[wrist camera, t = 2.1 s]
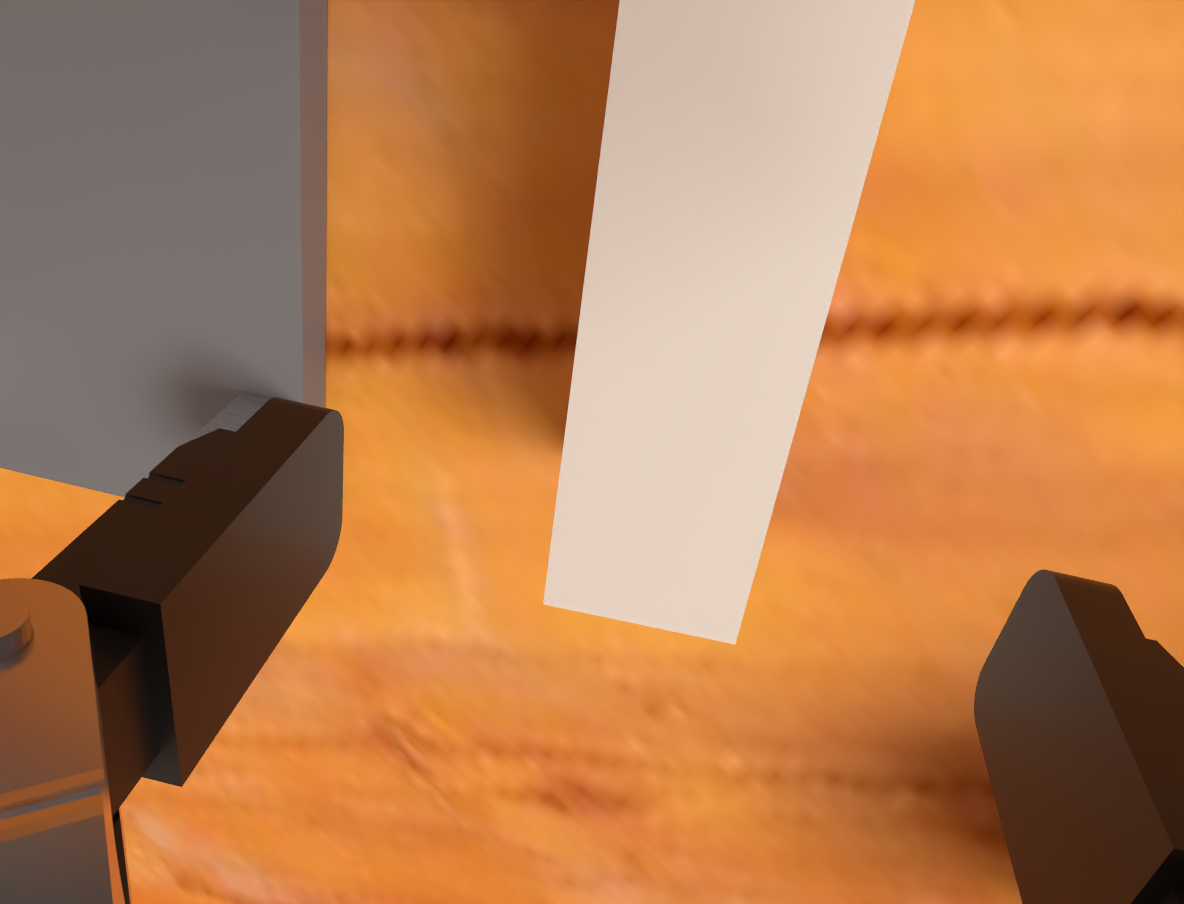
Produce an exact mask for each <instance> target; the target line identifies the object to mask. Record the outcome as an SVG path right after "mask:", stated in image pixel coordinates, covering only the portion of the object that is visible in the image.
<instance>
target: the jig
mask: <svg viewBox="0 0 1184 904" xmlns="http://www.w3.org/2000/svg"><path fill="white" fill-rule="evenodd" d="M327 10H328V0H0V468H4V469H8V470H12V471H16V472H21V473H25V474H29V475H33V476H37V477H42V478H46V479H50V480H54V481H59V482H63V483H67V484H71V485H75V486H80V487H84V488H88V489H92V490H96V491H101V492H105V493H109V494H113V495H118V496H122V497H125V494H126V493H127V492H128V491H129V490H130V489H131V488H133V487H134V486H135V485H136V484H137V483H138V482H139V481H140V480H141V479H142V478H148V477H149V472H150V471H151V470H152V469H154V468H155V467H156V466H157V465H158V464H159V463H160V462H161V461H162V460H164V459H165V458H166V457H167V456H168V455H169V454H170V453H171V452H172V451H174V450H175V449H176V448H177V447H178V446H180V445H183V444H185V443H187V442H189V441H192V440H194V439H196V438H198V437H201V436H203V435H205V434H208V433H210V432H212V431H214V430H217V429H219V428H222V429H226V430H231V431H235V432H236V431H237V430H238V429H239V428H240V427H241V426H242V425H243V424H244V423H245V422H246V421H247V420H249V419H250V418H251V417H252V416H253V415H254V414H255V413H256V412H257V411H258V410H259V409H260V408H261V407H262V406H263V405H264V404H265V403H266V402H267V401H268V400H270V399H271V398H274V397H278V398H283V399H287V400H292V401H296V402H301V403H305V404H310V405H314V406H319V407H323V408H325V367H326V188H327Z"/></svg>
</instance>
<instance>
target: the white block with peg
mask: <svg viewBox="0 0 1184 904" xmlns="http://www.w3.org/2000/svg"><path fill="white" fill-rule="evenodd" d="M914 3H915V0H620V2H619V10H618V18H617V25H616V33H615V41H614V49H613V57H612V65H611V73H610V81H609V89H608V97H607V104H606V112H605V120H604V128H603V136H602V144H601V152H600V160H599V168H598V176H597V183H596V191H595V199H594V207H593V215H592V223H591V231H590V239H589V247H588V255H587V263H586V270H585V278H584V286H583V294H582V302H581V310H580V318H579V326H578V334H577V342H576V349H575V357H574V365H573V373H572V381H571V389H570V397H569V405H568V413H567V421H566V428H565V436H564V444H563V452H562V460H561V468H560V476H559V484H558V492H557V500H556V507H555V515H554V523H553V531H552V539H551V547H550V555H549V563H548V571H547V579H546V586H545V594H544V602H543V604H545V605H549V606H554V607H559V608H564V609H568V610H573V611H578V612H583V613H588V614H592V615H597V616H602V617H607V618H612V619H616V620H621V621H626V622H631V623H635V624H640V625H645V626H650V627H655V628H659V629H664V630H669V631H674V632H678V633H683V634H688V635H693V636H698V637H702V638H707V639H712V640H717V641H721V642H726V643H731V644H735V643H736V640H737V636H738V633H739V629H740V626H741V622H742V618H743V615H744V611H745V608H746V604H747V601H748V597H749V593H750V590H751V586H752V583H753V579H754V575H755V572H756V568H757V565H758V561H759V558H760V554H761V550H762V547H763V543H764V540H765V536H766V533H767V529H768V525H769V522H770V518H771V515H772V511H773V507H774V504H775V500H776V497H777V493H778V490H779V486H780V482H781V479H782V475H783V472H784V468H785V465H786V461H787V457H788V454H789V450H790V447H791V443H792V439H793V436H794V432H795V429H796V425H797V422H798V418H799V414H800V411H801V407H802V404H803V400H804V397H805V393H806V389H807V386H808V382H809V379H810V375H811V371H812V368H813V364H814V361H815V357H816V354H817V350H818V346H819V343H820V339H821V336H822V332H823V328H824V325H825V321H826V318H827V314H828V311H829V307H830V303H831V300H832V296H833V293H834V289H835V286H836V282H837V278H838V275H839V271H840V268H841V264H842V260H843V257H844V253H845V250H846V246H847V243H848V239H849V235H850V232H851V228H852V225H853V221H854V218H855V214H856V210H857V207H858V203H859V200H860V196H861V192H862V189H863V185H864V182H865V178H866V175H867V171H868V167H869V164H870V160H871V157H872V153H873V150H874V146H875V142H876V139H877V135H878V132H879V128H880V124H881V121H882V117H883V114H884V110H885V107H886V103H887V99H888V96H889V92H890V89H891V85H892V82H893V78H894V74H895V71H896V67H897V64H898V60H899V56H900V53H901V49H902V46H903V42H904V39H905V35H906V31H907V28H908V24H909V21H910V17H911V13H912V10H913V6H914Z"/></svg>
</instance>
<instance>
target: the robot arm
mask: <svg viewBox="0 0 1184 904" xmlns="http://www.w3.org/2000/svg"><path fill="white" fill-rule="evenodd" d="M343 444H344V426H343V420H342V416H341V414H340V413H339V412H338V411H336V410H332V409H328V408H323V407H319V406H314V405H310V404H305V403H301V402H296V401H292V400H287V399H283V398H278V397H274V398H271V399H270V400H268V401H267V402H266V403H265V404H264V405H263V406H262V407H261V408H260V409H259V410H258V411H257V412H256V413H255V414H254V415H253V416H252V417H251V418H250V419H249V420H247V421H246V422H245V423H244V424H243V425H242V426H241V427H240V428H239V429H238V430H237V431H236V432H235V431H231V430H226V429H222V428H219V429H217V430H214V431H212V432H210V433H208V434H205V435H203V436H201V437H198V438H196V439H194V440H192V441H189V442H187V443H185V444H183V445H180V446H178V447H177V448H176V449H175V450H174V451H172V452H171V453H170V454H169V455H168V456H167V457H166V458H165V459H164V460H162V461H161V462H160V463H159V464H158V465H157V466H156V467H155V468H154V469H152V470H151V471H150V472H149V477H148V478H142V479H141V480H140V481H139V482H138V483H137V484H136V485H135V486H134V487H133V488H131V489H130V490H129V491H128V492H127V493H126V494H125V499H124V500H118V501H117V502H116V503H115V504H114V505H113V506H111V507H110V508H109V509H108V510H107V511H106V512H105V513H104V514H103V515H101V516H100V517H99V518H98V519H97V520H96V521H95V522H94V523H93V524H91V525H90V526H89V527H88V528H87V529H86V530H85V531H84V532H83V533H82V534H80V535H79V536H78V537H77V538H76V539H75V540H74V541H73V542H72V543H70V544H69V545H68V546H67V547H66V548H65V549H64V550H63V551H62V552H60V553H59V554H58V555H57V556H56V557H55V558H54V559H53V560H52V561H50V562H49V563H48V564H47V565H46V566H45V567H44V568H43V569H42V570H41V571H39V572H38V573H37V574H36V575H35V576H34V577H33V578H32V579H27V578H13V579H1V580H0V904H132V897H131V889H130V881H129V873H128V864H127V856H126V848H125V839H124V831H123V823H122V816H121V810H120V806H121V805H122V803H123V802H124V800H125V799H126V798H127V796H128V795H129V793H130V792H131V791H132V789H133V788H134V787H135V785H136V784H137V782H138V781H139V780H140V778H141V777H144V778H148V779H152V780H156V781H160V782H164V783H168V784H172V785H176V786H180V787H182V786H183V784H184V783H185V781H186V780H187V778H188V777H189V775H190V774H191V772H192V771H193V769H194V768H195V766H196V765H197V763H198V762H199V760H200V759H201V757H202V756H203V754H204V753H205V751H206V750H207V748H208V747H209V746H210V744H211V743H212V741H213V740H214V738H215V737H216V735H217V734H218V732H219V731H220V729H221V728H222V726H223V725H224V723H225V722H226V720H227V719H228V717H229V716H230V714H231V713H232V711H233V710H234V708H235V707H236V705H237V704H238V702H239V701H240V699H241V698H242V696H243V695H244V693H245V692H246V690H247V689H248V687H249V686H250V684H251V683H252V681H253V680H254V678H255V677H256V675H257V674H258V672H259V671H260V669H261V668H262V666H263V665H264V663H265V662H266V660H267V659H268V657H269V656H270V655H271V653H272V652H273V650H274V649H275V647H276V646H277V644H278V643H279V641H280V640H281V638H282V637H283V635H284V634H285V632H286V631H287V629H288V628H289V626H290V625H291V623H292V622H293V620H294V619H295V617H296V616H297V614H298V613H299V611H300V610H301V608H302V607H303V605H304V604H305V602H306V601H307V599H308V598H309V596H310V595H311V593H312V592H313V590H314V589H315V587H316V586H317V584H318V583H319V581H320V580H321V578H322V577H323V575H324V574H325V572H326V571H327V569H328V567H329V565H330V563H331V561H332V559H333V557H334V554H335V551H336V548H337V545H338V541H339V537H340V532H341V525H342V499H343ZM974 715H975V723H976V727H977V731H978V735H979V739H980V743H981V746H982V750H983V754H984V758H985V762H986V766H987V769H988V773H989V777H990V781H991V785H992V789H993V792H994V796H995V800H996V804H997V808H998V811H999V815H1000V819H1001V823H1002V827H1003V831H1004V834H1005V838H1006V842H1007V846H1008V850H1009V854H1010V857H1011V861H1012V865H1013V869H1014V873H1015V877H1016V880H1017V884H1018V888H1019V892H1020V896H1021V899H1022V903H1023V904H1184V667H1183V666H1182V665H1181V664H1179V663H1178V662H1177V661H1176V660H1175V659H1174V658H1173V657H1172V656H1171V655H1170V654H1169V653H1168V652H1167V651H1166V650H1165V649H1164V648H1163V647H1162V646H1161V645H1160V644H1159V643H1158V642H1157V641H1155V640H1150V639H1146V638H1145V636H1144V635H1143V633H1142V631H1141V629H1140V627H1139V625H1138V623H1137V621H1136V619H1135V618H1134V616H1133V614H1132V612H1131V610H1130V608H1129V606H1128V604H1127V602H1126V600H1125V599H1124V597H1123V595H1122V593H1121V592H1120V590H1119V589H1118V588H1117V587H1116V586H1114V585H1112V584H1107V583H1103V582H1098V581H1094V580H1089V579H1085V578H1080V577H1076V576H1071V575H1067V574H1062V573H1058V572H1053V571H1049V570H1040V571H1038V572H1036V573H1035V574H1034V575H1033V576H1032V577H1031V578H1030V579H1029V581H1028V582H1027V584H1026V585H1025V587H1024V589H1023V591H1022V593H1021V595H1020V597H1019V599H1018V601H1017V602H1016V604H1015V606H1014V608H1013V610H1012V612H1011V614H1010V616H1009V618H1008V620H1007V622H1006V624H1005V625H1004V627H1003V629H1002V631H1001V633H1000V635H999V637H998V639H997V641H996V643H995V645H994V647H993V648H992V650H991V652H990V654H989V656H988V658H987V660H986V662H985V664H984V666H983V668H982V670H981V673H980V676H979V679H978V682H977V687H976V692H975V702H974Z"/></svg>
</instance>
